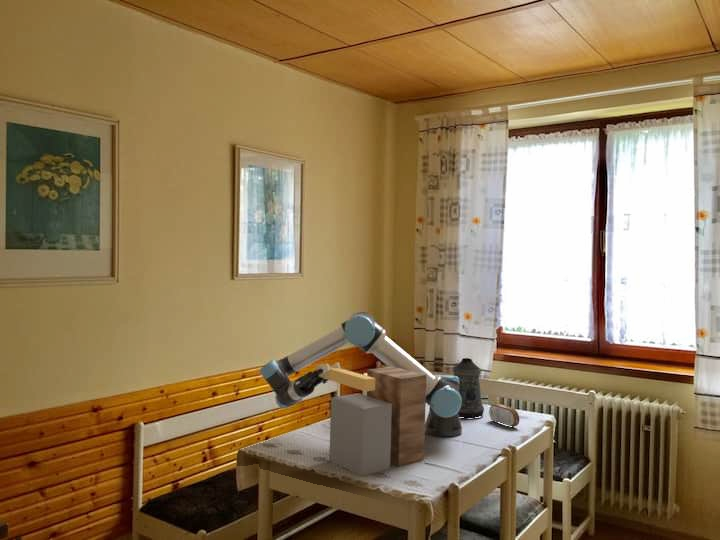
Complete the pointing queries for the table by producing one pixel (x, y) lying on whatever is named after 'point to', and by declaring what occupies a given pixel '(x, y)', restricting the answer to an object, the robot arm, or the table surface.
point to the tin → (504, 414)
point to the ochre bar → (349, 378)
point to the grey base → (360, 433)
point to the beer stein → (469, 388)
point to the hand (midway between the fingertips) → (333, 366)
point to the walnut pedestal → (403, 411)
